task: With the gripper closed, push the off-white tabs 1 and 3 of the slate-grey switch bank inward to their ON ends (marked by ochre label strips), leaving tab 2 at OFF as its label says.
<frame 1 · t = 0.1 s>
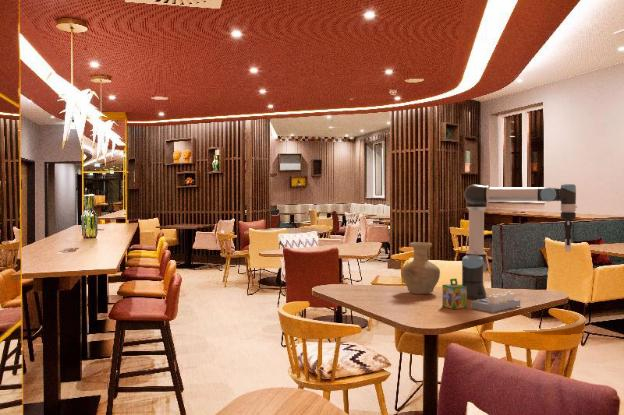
hand: (567, 250, 295), 28 cm above the table, fingers open, 13 cm apart
tab 2: (501, 299, 273), point 5 cm above the table, slide at 0.0 cm
tab 1: (493, 300, 269), point 5 cm above the table, slide at 0.0 cm
switch bank: (495, 307, 276), on the table
chalk box: (454, 307, 276), on the table
vase: (420, 293, 315), on the table
tab 3: (509, 297, 277), point 5 cm above the table, slide at 0.0 cm
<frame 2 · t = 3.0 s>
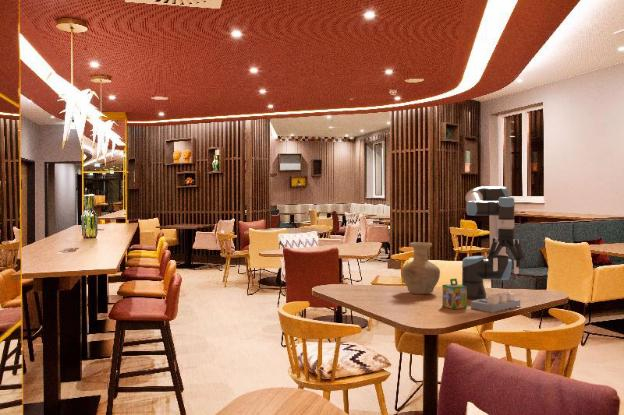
hand: (505, 272, 263), 20 cm above the table, fingers open, 11 cm apart
nothing on the table moved.
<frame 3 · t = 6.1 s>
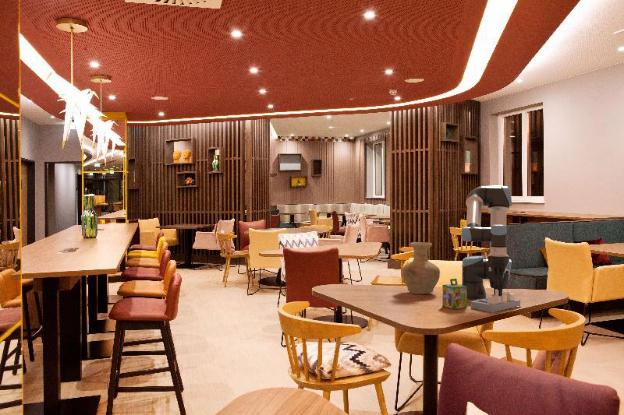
hand: (498, 302, 267), 5 cm above the table, fingers closed
tab 1: (493, 300, 269), point 5 cm above the table, slide at 0.0 cm, touching gripper
everything else where it was.
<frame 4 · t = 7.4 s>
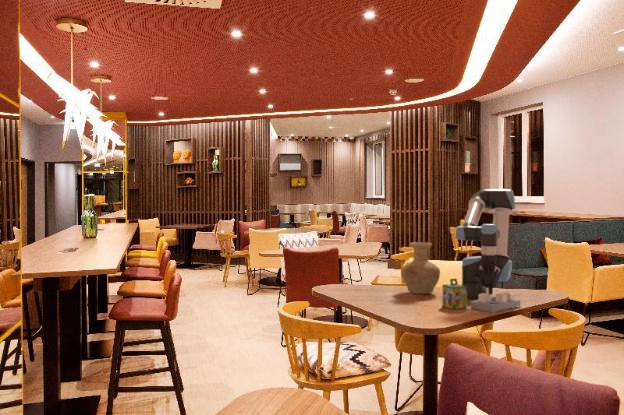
hand: (488, 300, 271), 5 cm above the table, fingers closed
tab 1: (483, 299, 273), point 5 cm above the table, slide at 5.5 cm, touching gripper
everything else where it was.
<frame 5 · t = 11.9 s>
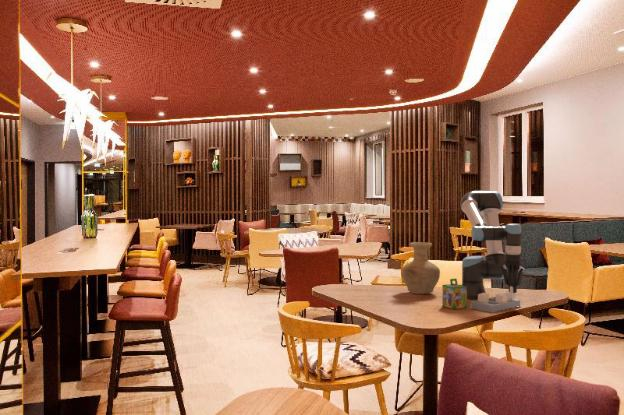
hand: (512, 298, 276), 4 cm above the table, fingers closed
tab 1: (483, 298, 274), point 5 cm above the table, slide at 5.8 cm
tab 3: (507, 297, 278), point 5 cm above the table, slide at 1.0 cm, touching gripper
everything else where it was.
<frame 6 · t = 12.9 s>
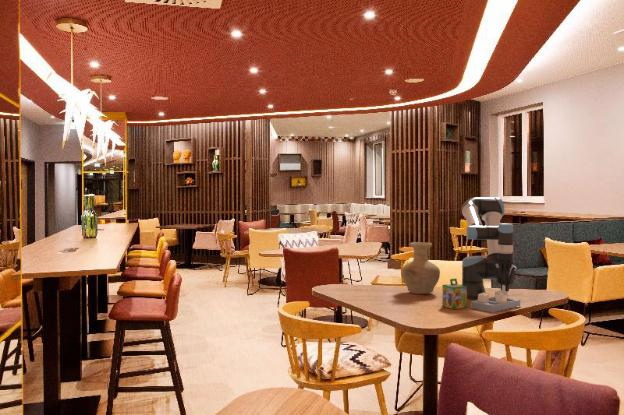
hand: (504, 297, 279), 5 cm above the table, fingers closed
tab 3: (500, 296, 282), point 5 cm above the table, slide at 5.4 cm
everything else where it was.
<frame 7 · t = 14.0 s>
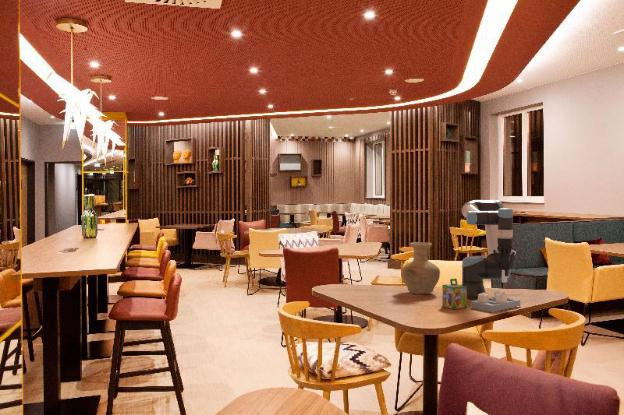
hand: (504, 282, 280), 13 cm above the table, fingers closed
tab 3: (499, 295, 282), point 5 cm above the table, slide at 5.9 cm
everything else where it was.
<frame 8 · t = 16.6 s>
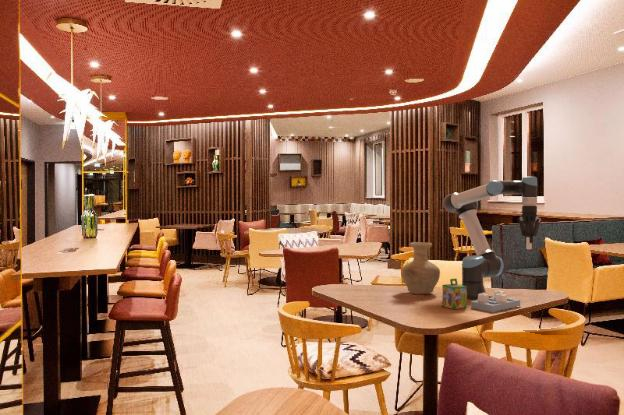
hand: (529, 249, 286), 29 cm above the table, fingers closed
nothing on the table moved.
at the end: tab 1 slide at 5.8 cm; tab 3 slide at 5.9 cm; tab 2 slide at 0.0 cm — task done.
